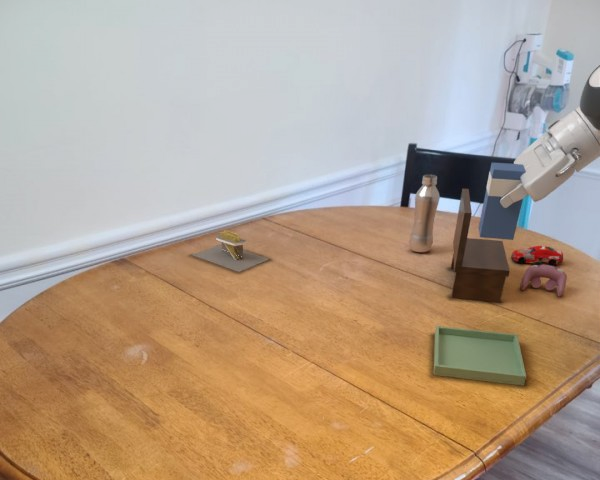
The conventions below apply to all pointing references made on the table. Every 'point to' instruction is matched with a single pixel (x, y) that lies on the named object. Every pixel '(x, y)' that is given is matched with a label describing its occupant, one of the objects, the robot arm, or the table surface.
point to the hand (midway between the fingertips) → (500, 198)
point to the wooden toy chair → (476, 261)
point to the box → (493, 214)
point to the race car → (538, 255)
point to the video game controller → (545, 271)
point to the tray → (478, 355)
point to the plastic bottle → (424, 215)
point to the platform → (231, 253)
